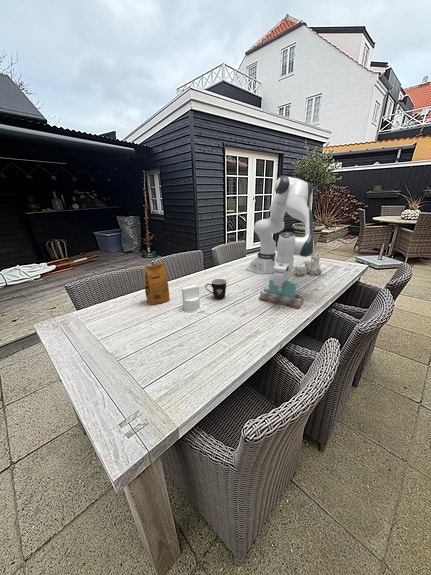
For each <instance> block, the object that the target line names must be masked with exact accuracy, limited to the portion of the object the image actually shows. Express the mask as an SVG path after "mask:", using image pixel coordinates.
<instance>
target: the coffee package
mask: <svg viewBox="0 0 431 575" xmlns="http://www.w3.org/2000/svg"><path fill="white" fill-rule="evenodd" d="M144 269H145V272H144V273H145V274H144V292H145V298H146V300H147V301H148V304H149V305H151V306H155V305H157V304H158V305H159V304H164V303H166V302H168V301H170V297H171V296H170V290H169V282H168V276H167V271H166V266H165V262H160V263H158V264H155V265H144Z"/></svg>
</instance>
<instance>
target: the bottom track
mask: <svg viewBox="0 0 431 575" xmlns="http://www.w3.org/2000/svg"><path fill="white" fill-rule="evenodd" d="M268 291H269V287H268V288H267V287H264V288H263V291H262V290H261V291H260V293H259V296H258V301H261V302H265V303H268V304H274V305H278V306H284V307H287V308H291V309H295V310H300V308H301V306H302V305H303V303H304V301H305V300H304V295H303V294H302V295H301V294H297V293H295V298H291V297H286V296H282V295H277V294H272V293H268Z"/></svg>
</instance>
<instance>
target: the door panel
mask: <svg viewBox="0 0 431 575" xmlns="http://www.w3.org/2000/svg"><path fill="white" fill-rule="evenodd" d="M273 279H274V277H271V278H269V280H268V289H269V291H268V293H272V294H277V295H282V296H286V297H291V298H295V294H297V293H296V291H297V284H298V283H297V282H296V281H290V280H287V281H285V282H284V283H283V285H282V291H278V286H274V283H273Z"/></svg>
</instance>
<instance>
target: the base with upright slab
mask: <svg viewBox="0 0 431 575" xmlns="http://www.w3.org/2000/svg"><path fill="white" fill-rule="evenodd" d="M181 297H182V308H183V310H184V311H186V312H195V311H198V310H200V308H201V301H200V286H199V285H198V284H193V285H192V284H191V285H187V286H183V287H181Z"/></svg>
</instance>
